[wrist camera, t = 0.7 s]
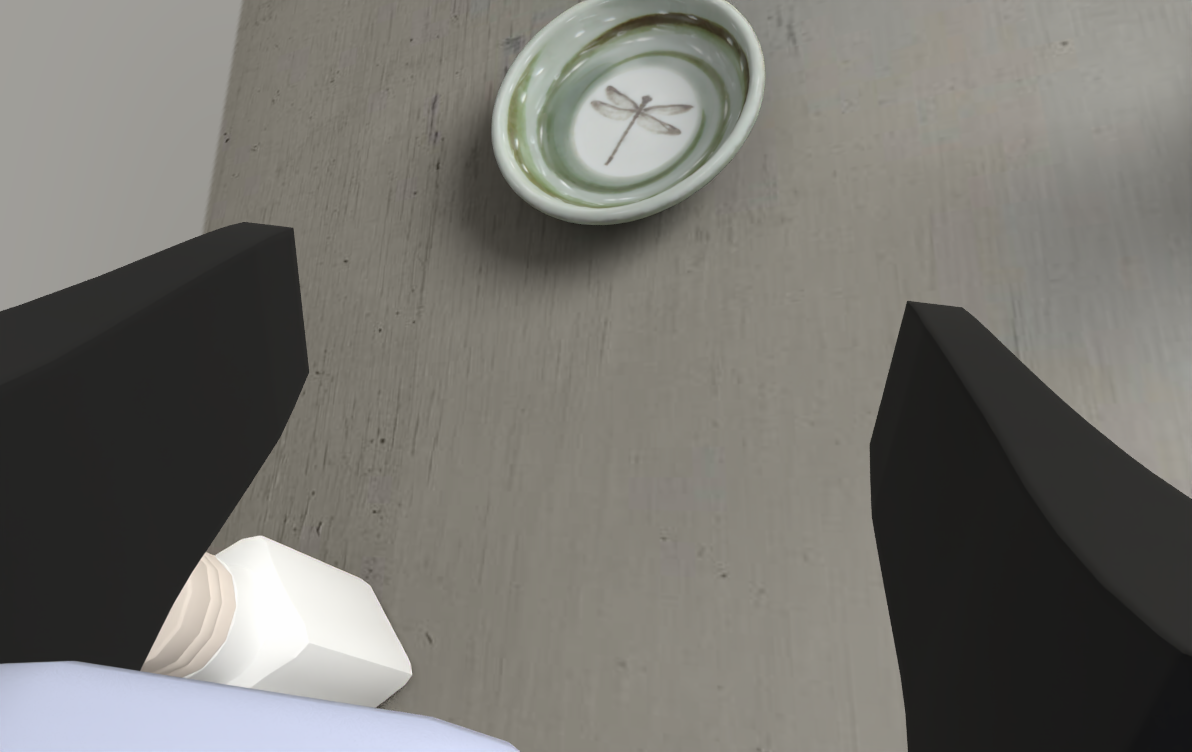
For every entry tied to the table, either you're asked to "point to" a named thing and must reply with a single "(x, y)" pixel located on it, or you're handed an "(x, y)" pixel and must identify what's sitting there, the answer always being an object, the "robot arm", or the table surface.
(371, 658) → the salt shaker
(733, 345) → the table surface
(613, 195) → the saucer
